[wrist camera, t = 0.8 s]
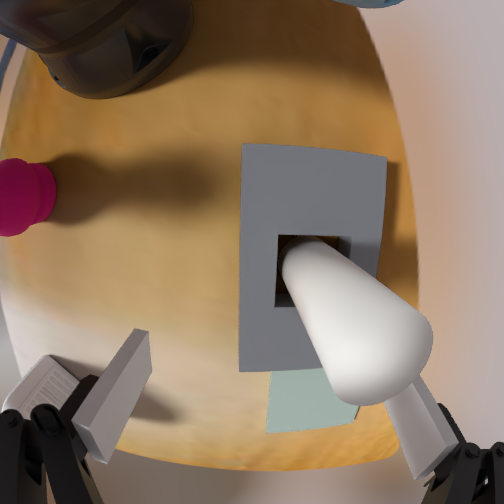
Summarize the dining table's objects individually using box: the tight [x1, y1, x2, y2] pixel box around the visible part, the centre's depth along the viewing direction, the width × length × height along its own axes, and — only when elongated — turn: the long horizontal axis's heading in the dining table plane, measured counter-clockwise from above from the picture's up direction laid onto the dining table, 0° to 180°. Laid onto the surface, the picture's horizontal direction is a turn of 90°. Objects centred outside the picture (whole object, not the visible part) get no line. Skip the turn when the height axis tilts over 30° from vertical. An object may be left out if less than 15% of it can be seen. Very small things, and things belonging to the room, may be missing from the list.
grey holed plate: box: [239, 143, 387, 372], centre depth 24 cm, size 20×12×3 cm, turn 179°
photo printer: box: [1, 355, 80, 420], centre depth 22 cm, size 10×4×12 cm, turn 48°
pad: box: [266, 368, 359, 433], centre depth 30 cm, size 12×12×1 cm
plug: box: [278, 235, 433, 406], centre depth 18 cm, size 5×5×16 cm
